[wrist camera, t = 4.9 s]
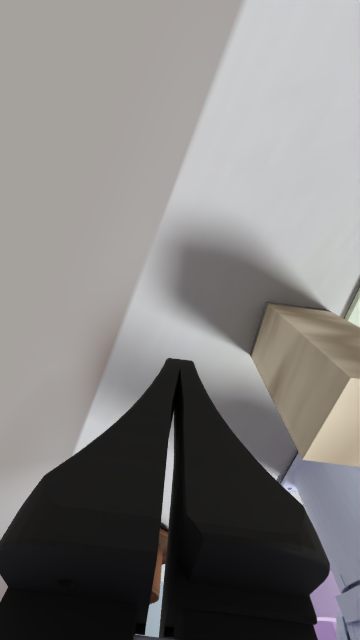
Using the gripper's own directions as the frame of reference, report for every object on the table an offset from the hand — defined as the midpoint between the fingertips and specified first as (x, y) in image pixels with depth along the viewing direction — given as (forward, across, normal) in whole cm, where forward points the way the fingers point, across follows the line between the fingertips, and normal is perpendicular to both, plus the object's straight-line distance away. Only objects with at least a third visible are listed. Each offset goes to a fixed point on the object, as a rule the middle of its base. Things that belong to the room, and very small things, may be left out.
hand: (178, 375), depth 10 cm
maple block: (+7, -9, 0) cm, 11 cm away
